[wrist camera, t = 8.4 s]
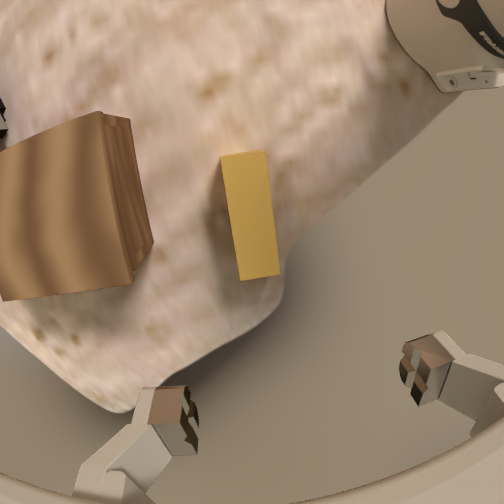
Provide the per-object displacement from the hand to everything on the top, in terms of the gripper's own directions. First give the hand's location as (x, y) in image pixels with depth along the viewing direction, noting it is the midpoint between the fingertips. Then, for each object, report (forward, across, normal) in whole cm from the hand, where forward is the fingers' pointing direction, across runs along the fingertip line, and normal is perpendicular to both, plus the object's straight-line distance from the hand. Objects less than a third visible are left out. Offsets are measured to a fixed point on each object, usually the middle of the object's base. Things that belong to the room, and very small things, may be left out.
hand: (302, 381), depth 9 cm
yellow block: (+25, 0, 0) cm, 25 cm away
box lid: (+17, +19, -5) cm, 26 cm away
